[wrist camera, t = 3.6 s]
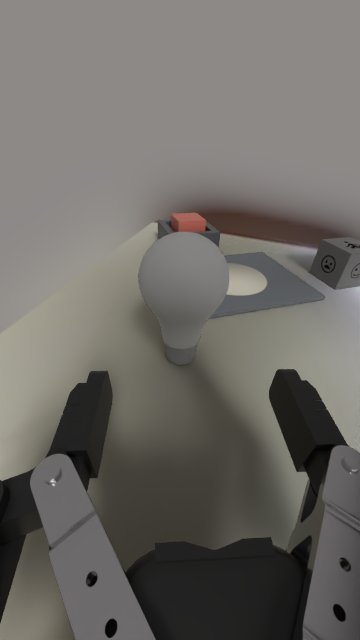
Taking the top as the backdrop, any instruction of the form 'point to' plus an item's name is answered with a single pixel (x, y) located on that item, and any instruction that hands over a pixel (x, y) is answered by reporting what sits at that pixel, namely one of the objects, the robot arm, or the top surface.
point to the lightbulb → (183, 289)
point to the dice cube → (338, 262)
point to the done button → (187, 222)
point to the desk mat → (261, 286)
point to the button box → (209, 232)
